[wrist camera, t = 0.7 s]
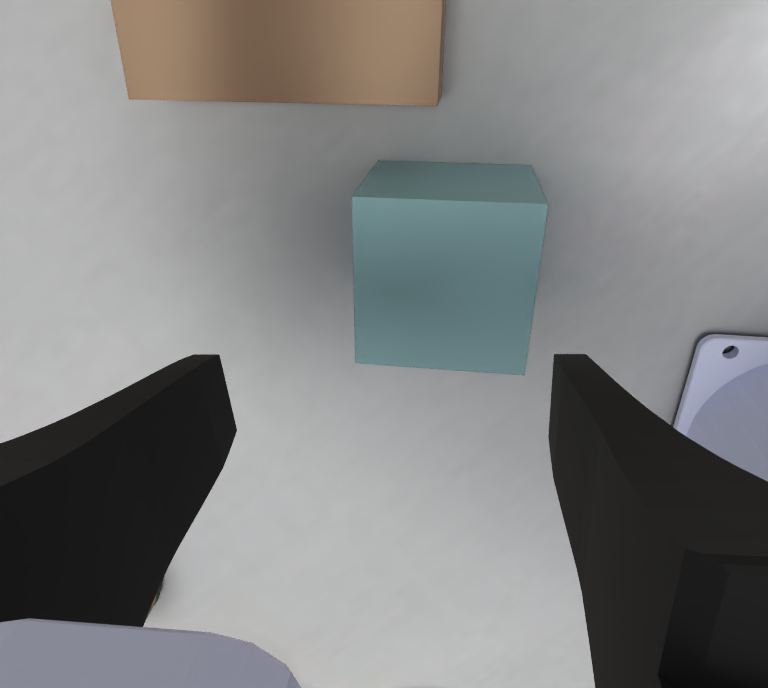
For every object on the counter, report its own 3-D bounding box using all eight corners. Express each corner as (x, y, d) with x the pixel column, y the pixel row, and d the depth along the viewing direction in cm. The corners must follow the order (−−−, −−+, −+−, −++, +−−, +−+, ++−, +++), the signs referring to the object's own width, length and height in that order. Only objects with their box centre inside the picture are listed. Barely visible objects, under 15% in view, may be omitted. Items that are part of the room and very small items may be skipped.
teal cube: (530, 164, 19) (548, 204, 15) (513, 304, 21) (524, 375, 17) (378, 159, 20) (351, 196, 15) (378, 297, 22) (355, 363, 18)
